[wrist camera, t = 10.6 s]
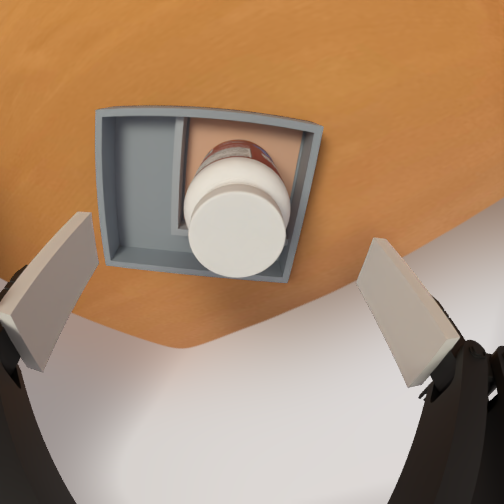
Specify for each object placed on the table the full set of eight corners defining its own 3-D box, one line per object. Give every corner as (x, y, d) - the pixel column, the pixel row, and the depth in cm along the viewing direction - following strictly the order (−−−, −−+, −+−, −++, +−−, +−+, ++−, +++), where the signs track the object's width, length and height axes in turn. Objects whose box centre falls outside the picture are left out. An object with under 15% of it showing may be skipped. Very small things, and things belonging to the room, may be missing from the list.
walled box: (118, 246, 27) (105, 265, 24) (113, 106, 20) (95, 109, 17) (282, 261, 29) (287, 283, 26) (311, 121, 22) (323, 126, 19)
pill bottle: (279, 201, 24) (306, 280, 15) (209, 214, 25) (193, 298, 15) (268, 131, 21) (295, 164, 12) (192, 146, 21) (156, 191, 12)
